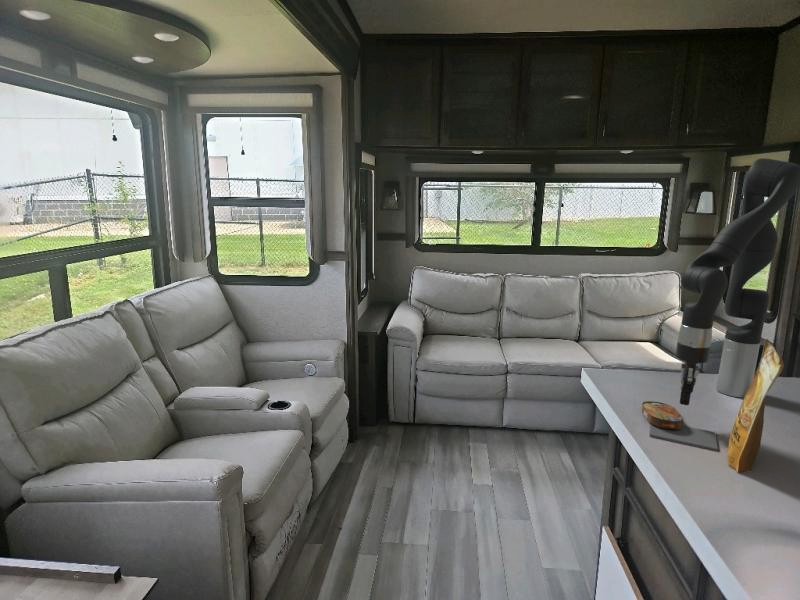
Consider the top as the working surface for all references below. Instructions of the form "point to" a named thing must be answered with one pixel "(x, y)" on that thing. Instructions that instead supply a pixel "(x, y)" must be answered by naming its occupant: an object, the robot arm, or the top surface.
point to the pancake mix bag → (753, 412)
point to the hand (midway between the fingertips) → (684, 403)
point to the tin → (662, 415)
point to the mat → (686, 436)
